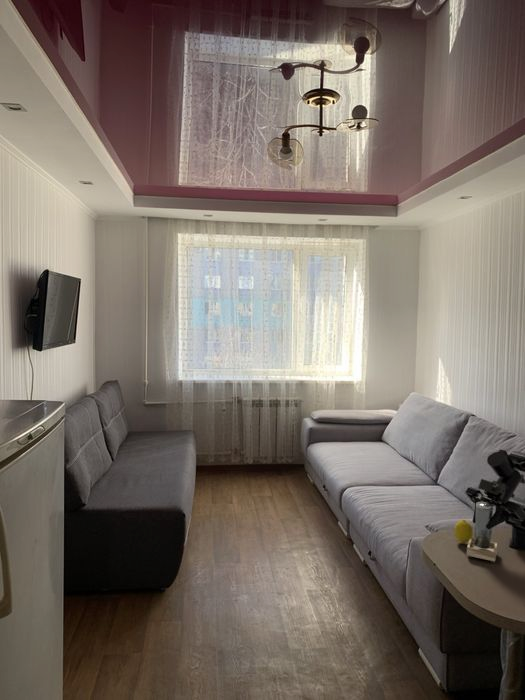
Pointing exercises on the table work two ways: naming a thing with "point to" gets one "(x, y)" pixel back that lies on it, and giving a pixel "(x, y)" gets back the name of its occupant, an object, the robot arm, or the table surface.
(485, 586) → the table surface
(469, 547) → the square wooden tray
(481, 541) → the canister
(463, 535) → the lemon
